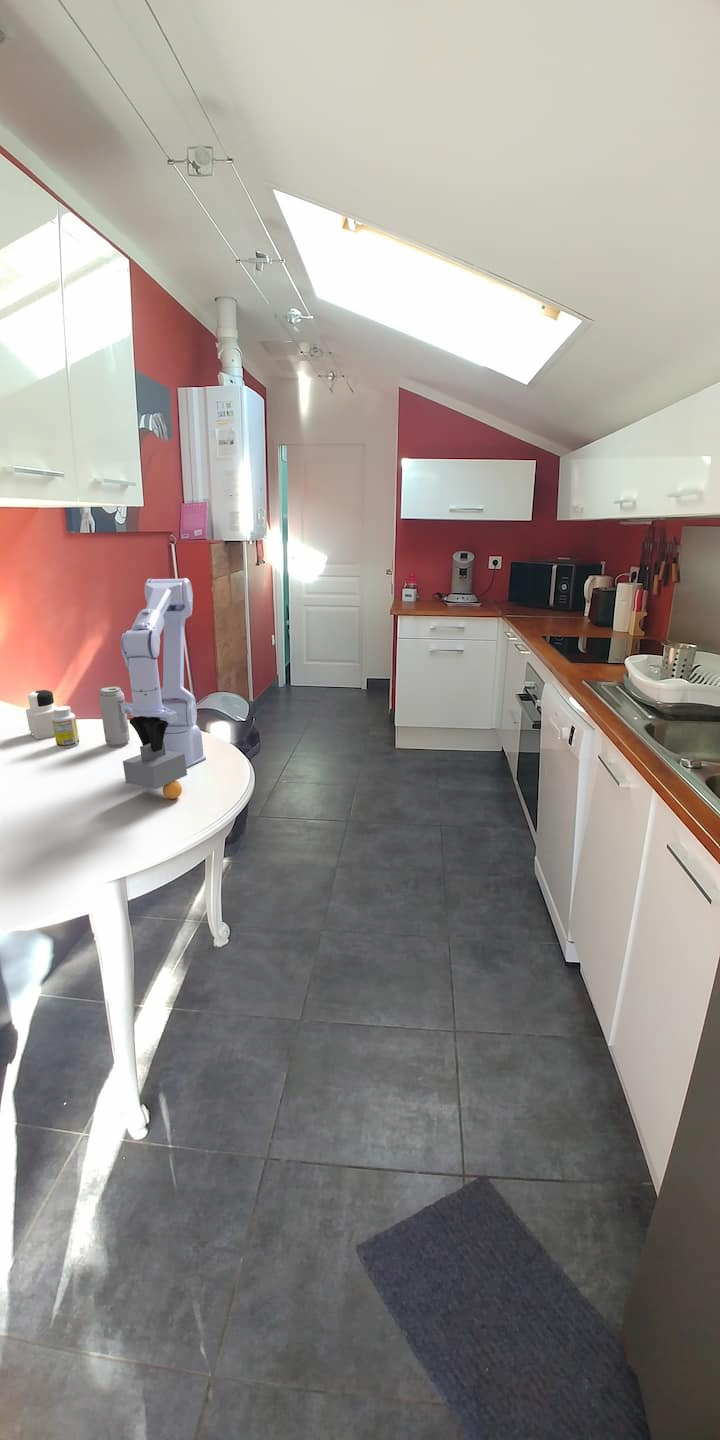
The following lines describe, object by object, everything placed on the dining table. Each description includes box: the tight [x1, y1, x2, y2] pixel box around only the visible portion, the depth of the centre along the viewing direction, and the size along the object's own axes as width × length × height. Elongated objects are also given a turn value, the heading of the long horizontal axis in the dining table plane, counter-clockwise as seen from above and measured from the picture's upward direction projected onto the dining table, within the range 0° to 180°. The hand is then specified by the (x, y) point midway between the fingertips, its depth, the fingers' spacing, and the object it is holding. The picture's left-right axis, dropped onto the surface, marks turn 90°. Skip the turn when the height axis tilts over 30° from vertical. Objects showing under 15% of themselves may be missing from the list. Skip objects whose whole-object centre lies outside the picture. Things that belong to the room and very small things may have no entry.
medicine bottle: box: [25, 689, 57, 740], centre depth 183 cm, size 7×7×12 cm
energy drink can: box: [98, 685, 131, 748], centre depth 174 cm, size 6×6×15 cm
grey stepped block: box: [122, 741, 188, 790], centre depth 144 cm, size 9×9×8 cm
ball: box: [162, 780, 183, 800], centre depth 144 cm, size 4×4×4 cm
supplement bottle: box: [52, 705, 80, 749], centre depth 175 cm, size 6×6×10 cm
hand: (153, 749), depth 143 cm, fingers closed on grey stepped block
